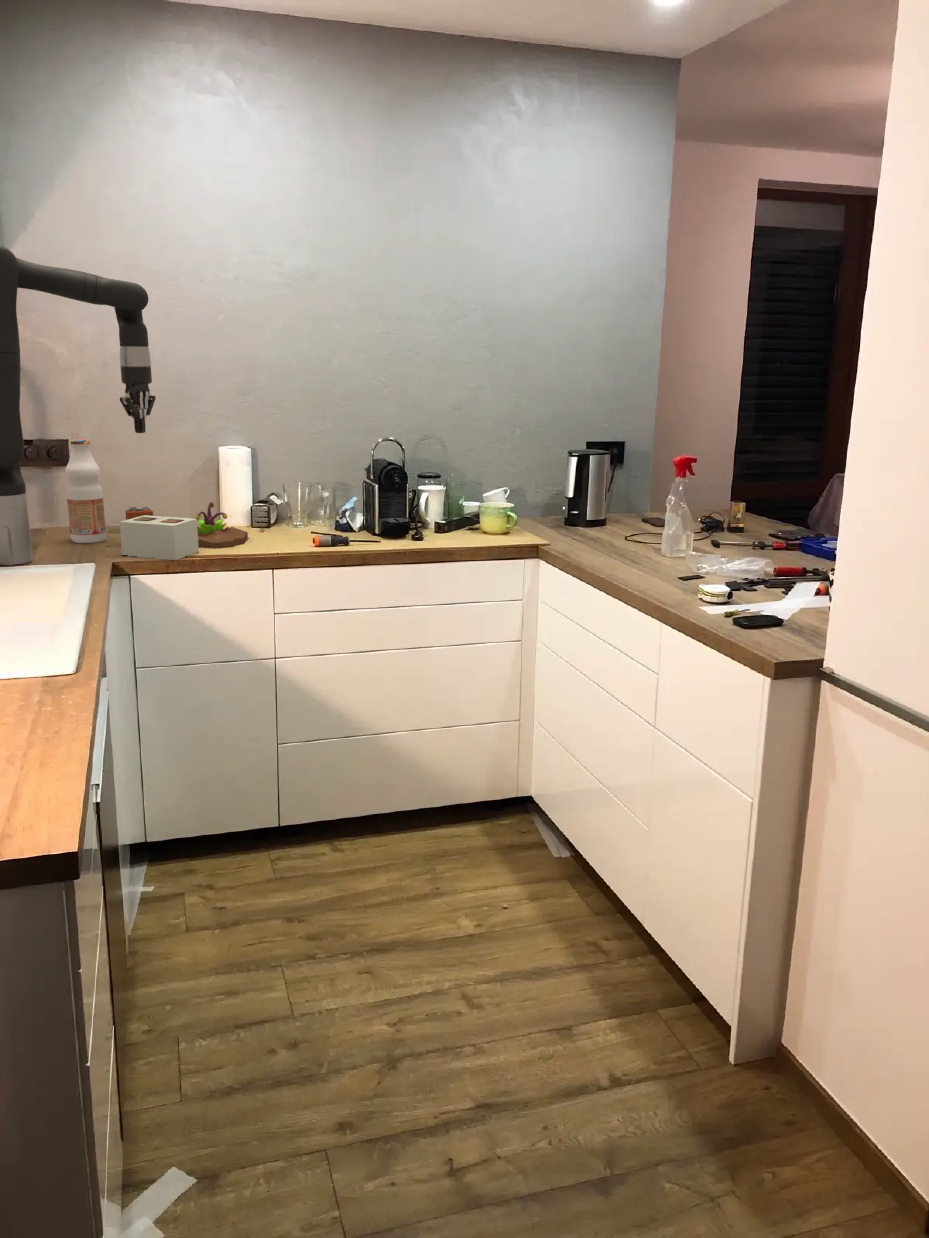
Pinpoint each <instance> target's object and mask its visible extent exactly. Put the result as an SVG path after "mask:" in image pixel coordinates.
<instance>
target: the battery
mask: <svg viewBox="0 0 929 1238" xmlns="http://www.w3.org/2000/svg"><path fill="white" fill-rule="evenodd" d="M143 515H148V516H154V511H153V510H152V509H151V508H149V506H142V508H138V507H137V506H129V507H128V509H125V520H128V519H132V518H136V517H140V516H143Z"/></svg>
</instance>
